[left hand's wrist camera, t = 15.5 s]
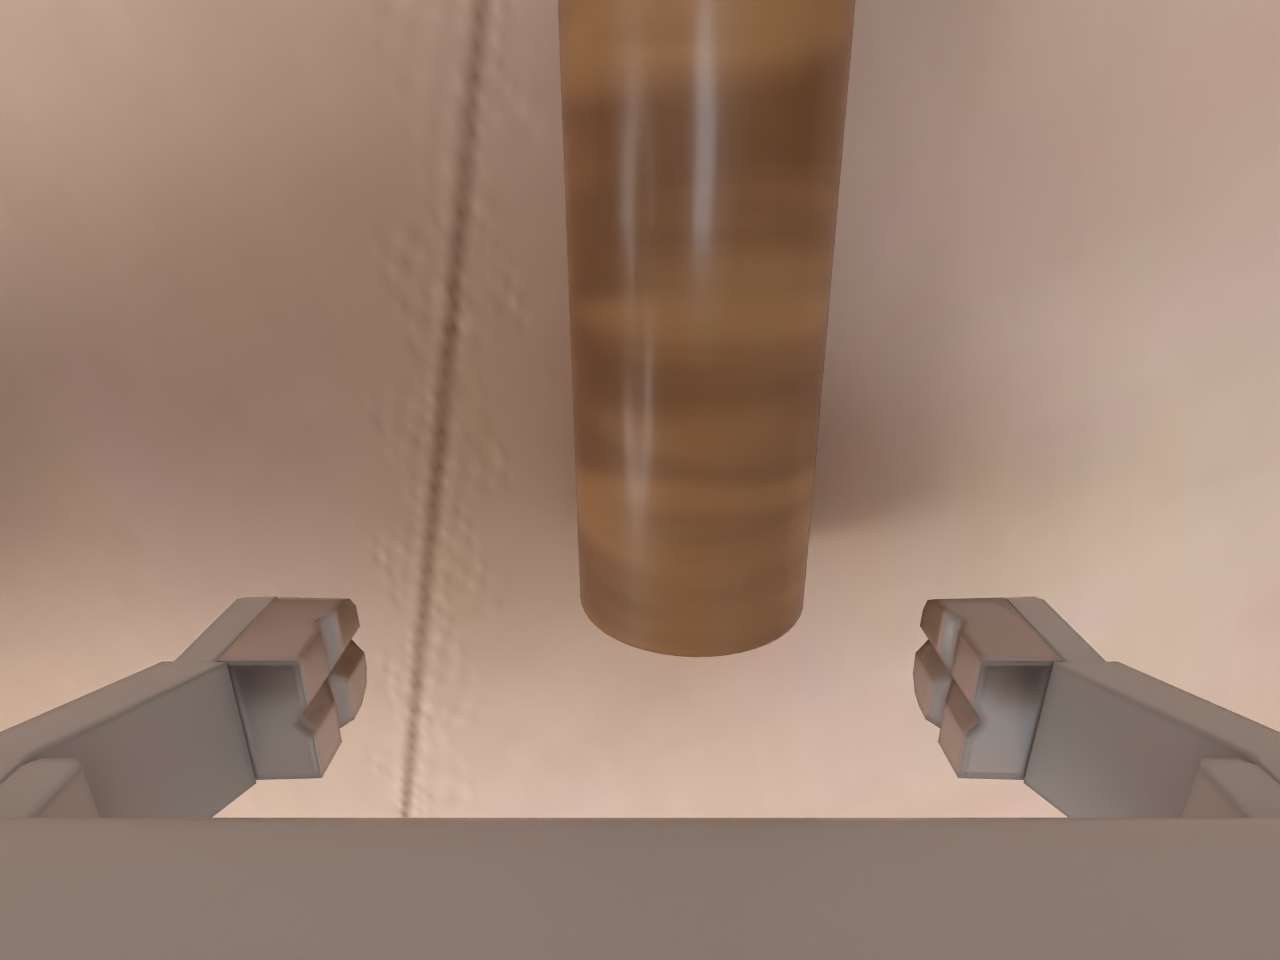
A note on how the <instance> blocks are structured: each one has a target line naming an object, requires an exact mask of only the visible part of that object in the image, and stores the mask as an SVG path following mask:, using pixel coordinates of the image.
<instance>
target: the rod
mask: <svg viewBox="0 0 1280 960" xmlns="http://www.w3.org/2000/svg"><path fill="white" fill-rule="evenodd" d="M854 10H855V0H558V12H559V39H560V65H561V92H562V118H563V145H564V172H565V198H566V225H567V251H568V278H569V305H570V331H571V358H572V384H573V411H574V438H575V464H576V491H577V517H578V544H579V571H580V597H581V604H582V606H583V609H584V611H585V613H586V615H587V616H588V617H589V619H590V620H591V621H592V622H593V623H594V624H595V625H596V626H597V627H598V628H599V629H600V630H602V631H603V632H604V633H606V634H607V635H609V636H611V637H613V638H614V639H616V640H618V641H620V642H623V643H625V644H628V645H630V646H633V647H636V648H639V649H643V650H646V651H650V652H655V653H660V654H666V655H673V656H686V657H712V656H723V655H730V654H736V653H741V652H745V651H749V650H752V649H756V648H759V647H761V646H764V645H766V644H769V643H771V642H772V641H774V640H776V639H778V638H780V637H781V636H783V635H784V634H785V633H787V632H788V631H789V630H790V629H791V628H792V627H793V626H794V625H795V623H796V622H797V620H798V619H799V617H800V615H801V612H802V609H803V600H804V589H805V577H806V566H807V554H808V542H809V531H810V519H811V508H812V496H813V485H814V473H815V461H816V450H817V438H818V427H819V415H820V404H821V392H822V380H823V369H824V357H825V346H826V334H827V323H828V311H829V299H830V288H831V276H832V265H833V253H834V242H835V230H836V219H837V207H838V195H839V184H840V172H841V161H842V149H843V138H844V126H845V114H846V103H847V91H848V80H849V68H850V57H851V45H852V33H853V22H854Z"/></svg>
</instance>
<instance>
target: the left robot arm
mask: <svg viewBox="0 0 1280 960" xmlns="http://www.w3.org/2000/svg"><path fill="white" fill-rule="evenodd" d="M359 626H360V624H359V619H358V614H357V609H356V605H355V604H354V603H353V602H352V601H351V600H350V599H341V598H289V597H281V598H278V597H246V598H240V599H237V600H236V601H235V602H234V603H233V604H232V605H231V606H230V607H229V608H228V609H227V610H226V611H225V612H224V613H223V614H222V615H221V616H220V617H219V618H218V619H217V620H216V621H215V622H214V623H213V624H212V625H211V626H210V627H209V628H208V629H207V630H205V631H204V632H203V633H202V634H201V635H200V636H199V637H198V638H197V639H196V640H195V641H194V642H193V643H192V644H191V645H190V646H189V647H188V648H187V649H186V650H185V651H184V652H183V653H182V654H181V655H180V656H179V657H178V658H177V659H176V660H175V661H174V662H161V663H158V664H156V665H154V666H151V667H149V668H147V669H144V670H142V671H140V672H138V673H135V674H133V675H131V676H128V677H126V678H124V679H121V680H119V681H117V682H115V683H112V684H110V685H108V686H105V687H103V688H101V689H98V690H96V691H94V692H92V693H89V694H87V695H85V696H82V697H80V698H78V699H75V700H73V701H71V702H69V703H66V704H64V705H62V706H59V707H57V708H55V709H52V710H50V711H48V712H46V713H43V714H41V715H39V716H36V717H34V718H32V719H29V720H27V721H25V722H23V723H20V724H18V725H16V726H13V727H11V728H9V729H6V730H4V731H2V732H0V960H1280V732H1278V731H1275V730H1273V729H1271V728H1268V727H1266V726H1264V725H1262V724H1259V723H1257V722H1255V721H1252V720H1250V719H1248V718H1246V717H1243V716H1241V715H1239V714H1236V713H1234V712H1232V711H1229V710H1227V709H1225V708H1223V707H1220V706H1218V705H1216V704H1213V703H1211V702H1209V701H1207V700H1204V699H1202V698H1200V697H1197V696H1195V695H1193V694H1191V693H1188V692H1186V691H1184V690H1181V689H1179V688H1177V687H1174V686H1172V685H1170V684H1168V683H1165V682H1163V681H1161V680H1158V679H1156V678H1154V677H1152V676H1149V675H1147V674H1145V673H1142V672H1140V671H1138V670H1136V669H1133V668H1131V667H1129V666H1126V665H1124V664H1122V663H1119V662H1106V661H1105V660H1104V659H1103V658H1102V657H1101V656H1100V655H1099V654H1098V653H1097V652H1096V651H1095V650H1094V649H1093V648H1092V647H1091V646H1090V645H1089V644H1088V643H1087V642H1086V641H1085V640H1084V639H1083V638H1082V637H1081V636H1080V635H1079V634H1078V633H1077V632H1076V631H1075V630H1074V629H1073V628H1072V627H1071V626H1070V625H1069V624H1068V623H1067V622H1066V621H1065V620H1064V619H1063V618H1062V617H1061V616H1059V615H1058V614H1057V613H1056V612H1055V611H1054V610H1053V609H1052V608H1051V607H1050V606H1049V605H1048V604H1047V603H1046V602H1045V601H1044V600H1043V599H1040V598H1037V597H1010V598H968V599H934V600H928V601H927V603H926V605H925V607H924V609H923V613H922V618H921V624H920V626H921V628H922V630H923V631H924V633H925V634H926V636H927V637H928V641H927V642H926V643H925V644H924V645H923V646H922V647H921V648H920V649H919V650H918V651H917V652H916V654H915V662H914V670H913V677H914V689H915V695H916V698H917V701H918V705H919V707H920V709H921V711H922V713H923V715H924V717H925V719H926V720H928V721H930V722H931V723H933V724H934V725H936V726H937V727H939V728H940V734H939V740H938V743H939V744H940V746H941V748H942V750H943V752H944V753H945V755H946V757H947V759H948V761H949V762H950V764H951V766H952V768H953V770H954V771H955V773H956V775H957V777H958V778H976V779H1013V780H1024V783H1025V784H1026V785H1027V786H1029V787H1030V788H1031V789H1032V790H1034V791H1035V792H1036V793H1038V794H1039V795H1040V796H1041V797H1043V798H1044V799H1045V800H1047V801H1048V802H1049V803H1050V804H1052V805H1053V806H1054V807H1056V808H1057V809H1058V810H1059V811H1061V812H1062V813H1063V814H1065V815H1066V816H1067V817H1068V818H212V817H213V816H214V815H216V814H217V813H218V812H219V811H221V810H222V809H223V808H225V807H226V806H227V805H228V804H230V803H231V802H232V801H234V800H235V799H236V798H238V797H239V796H240V795H241V794H243V793H244V792H245V791H247V790H248V789H249V788H250V787H252V786H253V785H254V784H256V780H267V779H302V778H322V777H323V775H324V773H325V771H326V770H327V768H328V766H329V764H330V762H331V761H332V759H333V757H334V755H335V753H336V752H337V750H338V748H339V746H340V744H341V743H342V740H341V734H340V728H341V727H343V726H344V725H346V724H347V723H349V722H350V721H352V720H354V719H355V717H356V715H357V713H358V711H359V709H360V707H361V705H362V701H363V697H364V693H365V688H366V672H367V667H366V661H365V654H364V652H363V651H362V650H361V649H360V648H359V647H358V646H357V645H356V644H355V643H354V642H353V641H352V640H351V639H352V637H353V636H354V634H355V633H356V631H357V630H358V628H359Z"/></svg>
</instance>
